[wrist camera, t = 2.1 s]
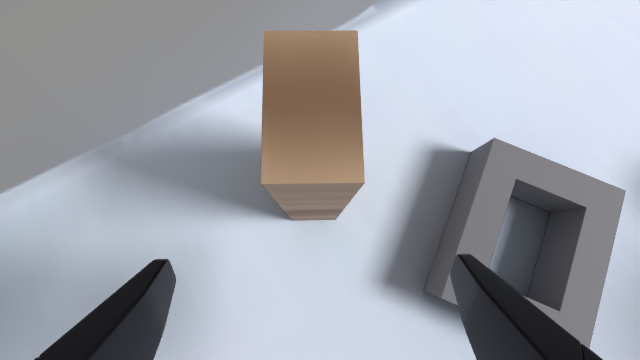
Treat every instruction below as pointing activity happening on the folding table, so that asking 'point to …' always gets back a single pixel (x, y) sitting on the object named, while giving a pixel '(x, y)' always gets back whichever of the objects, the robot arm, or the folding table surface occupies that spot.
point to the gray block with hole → (560, 236)
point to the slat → (311, 122)
